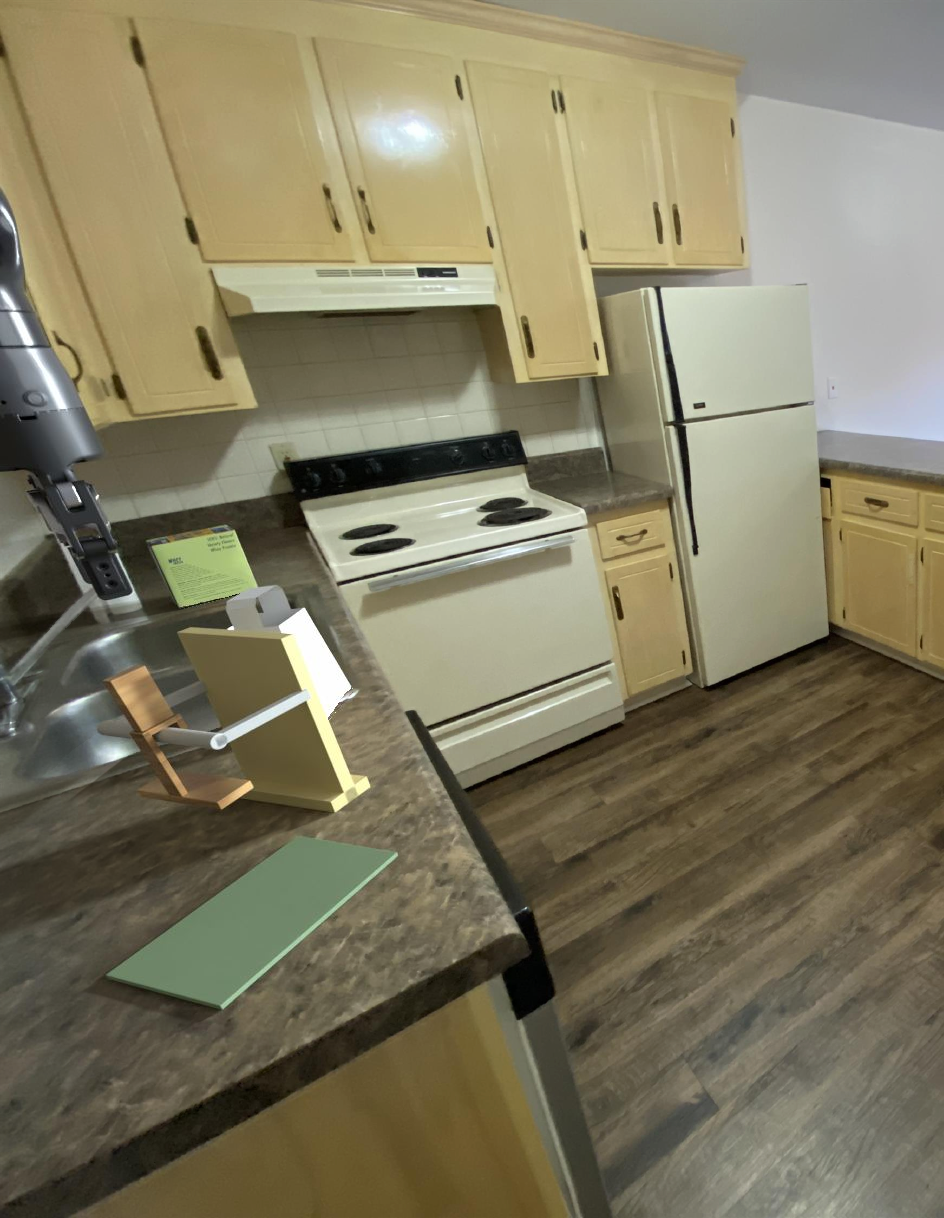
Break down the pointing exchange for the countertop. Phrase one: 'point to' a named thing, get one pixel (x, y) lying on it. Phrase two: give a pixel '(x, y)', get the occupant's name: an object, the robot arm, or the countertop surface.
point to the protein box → (202, 565)
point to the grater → (300, 624)
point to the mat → (252, 922)
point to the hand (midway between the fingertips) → (109, 589)
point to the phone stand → (146, 719)
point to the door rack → (262, 718)
